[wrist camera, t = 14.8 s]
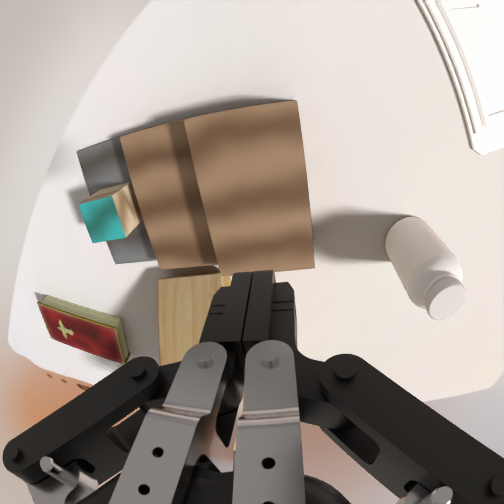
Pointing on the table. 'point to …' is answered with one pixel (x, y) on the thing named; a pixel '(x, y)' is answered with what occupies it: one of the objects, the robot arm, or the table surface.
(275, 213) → the walnut staircase
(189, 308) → the knife block
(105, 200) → the maple cube
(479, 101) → the tray
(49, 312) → the hardcover book
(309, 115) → the table surface
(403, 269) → the pill bottle
